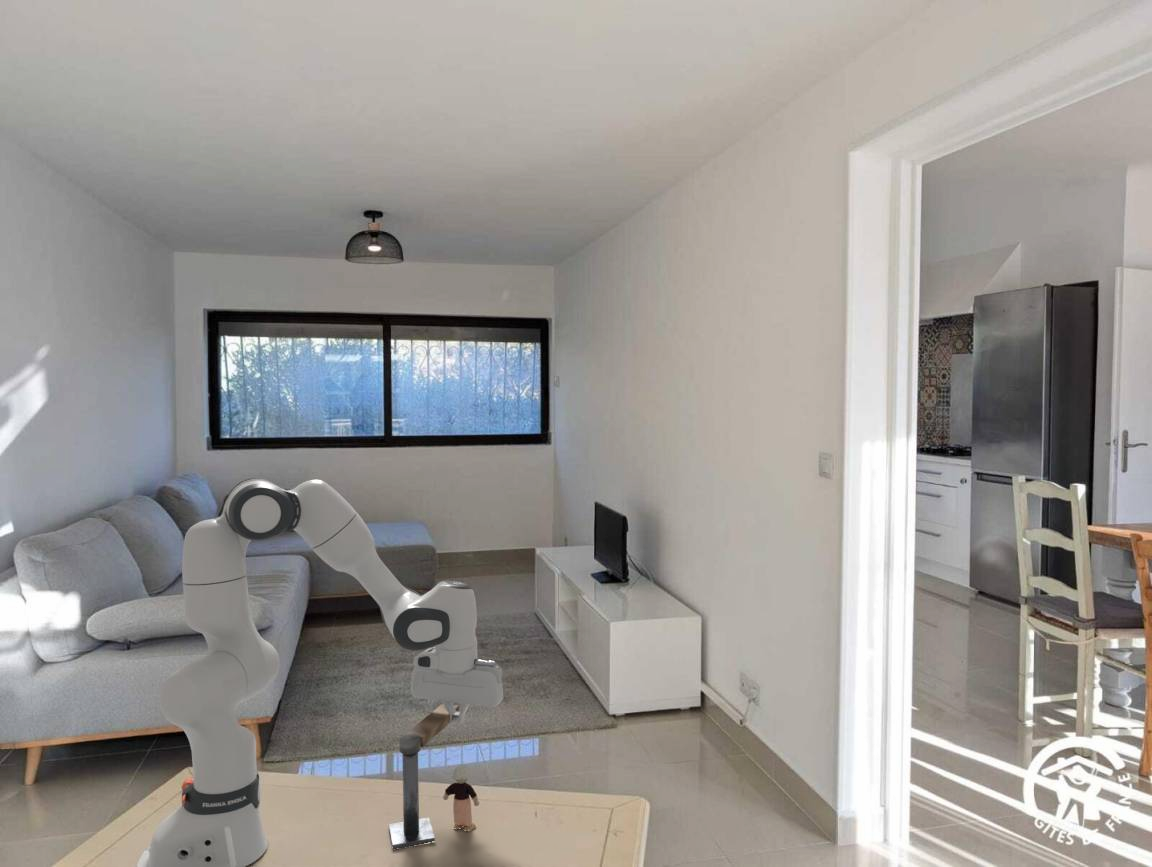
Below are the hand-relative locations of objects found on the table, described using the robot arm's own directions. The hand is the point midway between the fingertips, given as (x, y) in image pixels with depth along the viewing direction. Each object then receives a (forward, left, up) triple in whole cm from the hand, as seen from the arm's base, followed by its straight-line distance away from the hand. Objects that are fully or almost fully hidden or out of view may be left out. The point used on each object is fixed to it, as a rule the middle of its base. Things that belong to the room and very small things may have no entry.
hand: (457, 721), depth 174 cm
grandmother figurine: (-1, -10, -18) cm, 20 cm away
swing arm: (-6, -3, 0) cm, 7 cm away
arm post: (-11, -10, -18) cm, 23 cm away
